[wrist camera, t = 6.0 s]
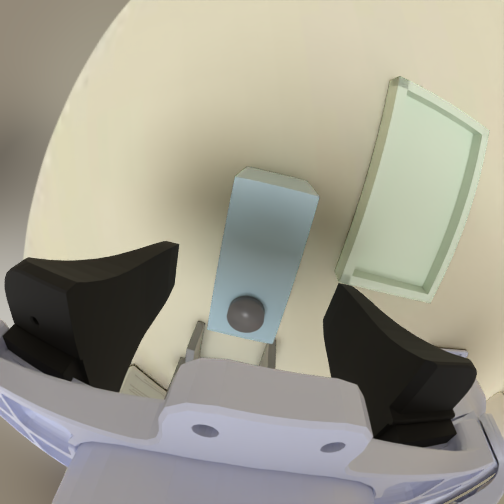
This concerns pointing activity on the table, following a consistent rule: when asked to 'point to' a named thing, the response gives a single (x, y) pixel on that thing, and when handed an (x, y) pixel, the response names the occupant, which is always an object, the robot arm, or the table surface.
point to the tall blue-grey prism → (260, 253)
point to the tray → (414, 195)
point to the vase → (497, 410)
